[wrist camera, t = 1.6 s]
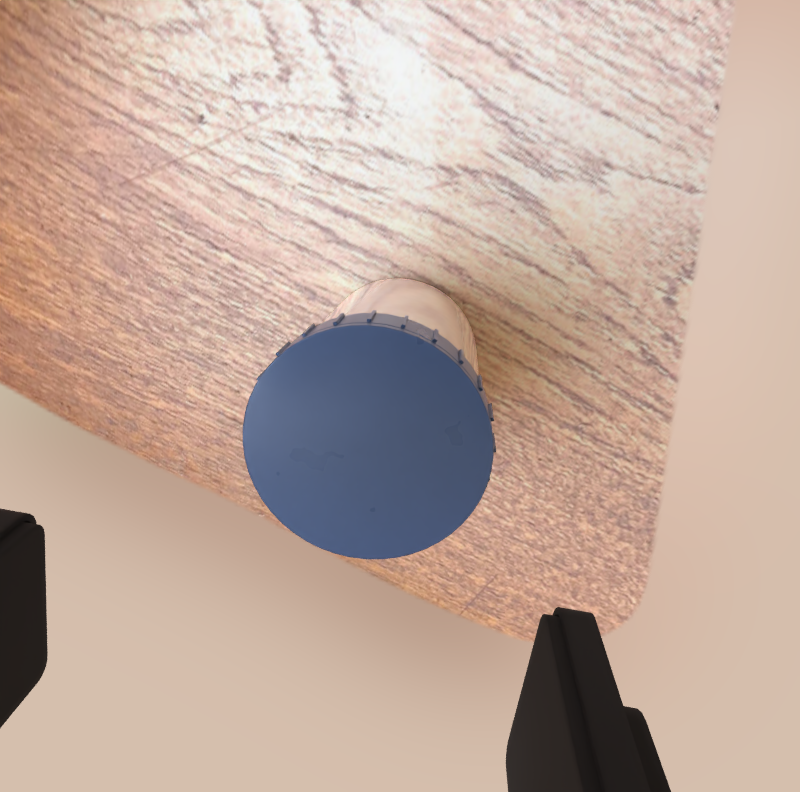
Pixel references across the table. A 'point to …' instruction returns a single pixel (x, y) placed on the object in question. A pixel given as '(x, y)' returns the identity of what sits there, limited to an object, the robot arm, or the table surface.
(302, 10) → the table surface
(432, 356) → the lid
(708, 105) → the table surface
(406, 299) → the jar
